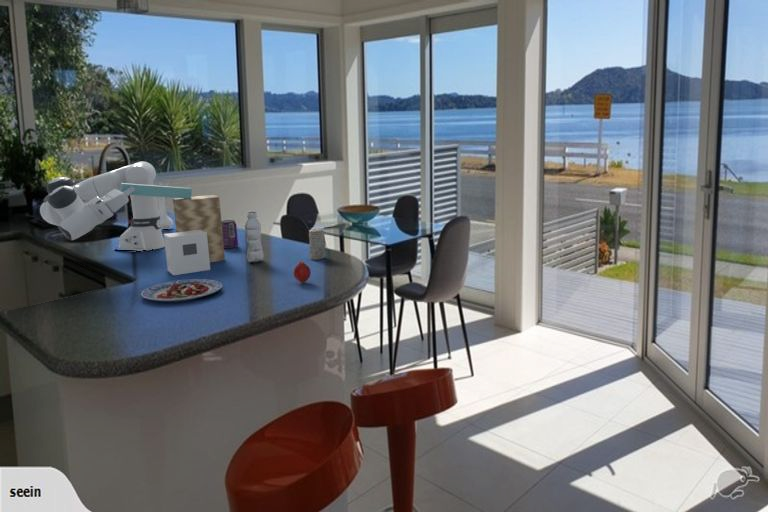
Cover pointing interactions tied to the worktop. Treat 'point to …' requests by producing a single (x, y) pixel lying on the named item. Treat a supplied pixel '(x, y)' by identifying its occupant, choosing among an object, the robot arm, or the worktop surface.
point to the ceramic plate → (181, 290)
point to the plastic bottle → (253, 238)
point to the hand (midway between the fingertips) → (132, 187)
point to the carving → (317, 244)
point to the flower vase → (164, 210)
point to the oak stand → (201, 221)
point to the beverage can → (229, 233)
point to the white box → (187, 252)
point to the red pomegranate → (302, 272)
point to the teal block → (158, 191)
